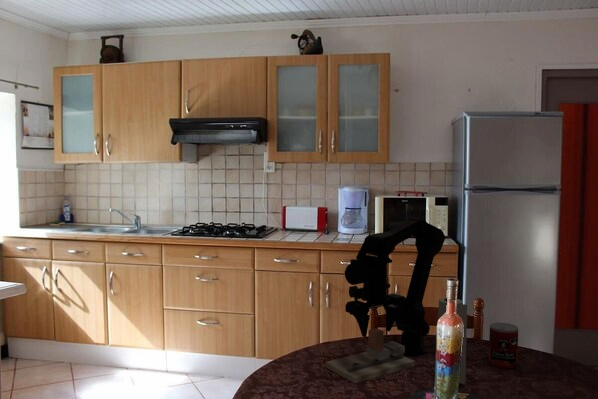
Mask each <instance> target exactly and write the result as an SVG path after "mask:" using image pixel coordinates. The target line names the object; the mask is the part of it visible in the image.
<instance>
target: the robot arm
mask: <svg viewBox="0 0 598 399" xmlns="http://www.w3.org/2000/svg"><path fill="white" fill-rule="evenodd" d="M412 237H413V238H414V239H415V243H414V245H415V248H416V252H417V255H416V259H415V262H414V266H413V270H412V274H411V277H410V281H409V285H408V289H407V292H406V297H405V295H401V294H398V293H388V289H390V288H391V284H390V283H388V264H392V263H393V259H392V258H390V257H389V256H390V255H391V254H392V253H393V252H394V251H395V249H396V246H397V245H399V244H401V243H403V242H405V241H406V240H408V239H410V238H412ZM445 239H446V236H445V233H444V231H443V230H442V229H441V228H438V227H437V226H435V225H433V224H431V223H429V222H427V221H426V219H424V218H416V217H411V218H408V219H407V220H406V221H405V222H402V223H400V224H398V225H397V226H395V227H392V228H391V229H389V230H387V231H385V232H377V233H371V234H368V235H367V236H366V237H365V238H364V241H363V243H362V245H361V247H360V249H359V251H358V253H357V255H356V258H353V259H350V260H349V261H350V262H349V263H350V264H348V265H347V266H346V267H345V270H344V277H345V281H346V282H347V283H348V284H349V285H351V286H349V287H348V295H349V298H350V299H352V298H353V299H354V300H350V301H347V302H346V304H345V309H344V311H345V312H346V313H347V314H349V315H351V316H353V317H354V318H355V320H356V322H357V325H358V327H359V331H360V334H361V337H363V338H367V333H368V331H369V325H370V324H369V323H370V319H371V318H370V317H371V315H370V314H369V313H370V310H371V309H375V308H380V307H383V309H384V312H385V329H386V330H385V331H386V332H391V330H392V328H393V326H394V324H395V326H396V329H397V331H401V338H400V344H401V345H403V346H405V354H406V355H409V356H411V357H416V356H419V355H422V354H426V353H428V350H426V349H424V338H425V337H426V336H427V335H428V334H429V333H430V329H431V326H430V325H429V324H428V322H427V320H426V319H425V314H426V312H425V308H424V304H423V301H424V300H423V299H424V296H425V292H426V289H427V285H428V281H429V276H430V273H431V269H432V266H433V263H434V262H433V261H434V258H435V257H436V256H437V255H438V254H439V253H440V252H441V251H442V249H443V245H444V242H446V240H445ZM360 284H361V285H362V287H358V285H360Z"/></svg>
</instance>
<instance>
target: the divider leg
mask: <svg viewBox="0 0 598 399" xmlns="http://www.w3.org/2000/svg"><path fill="white" fill-rule="evenodd" d="M384 332H385V331H384V330H383V329H380V328H377V327H376V328H372V329H368V346H367V347H366V352H367V355H368V356H370V357H372V358H374V360H383V359H386V358H389V356H390V350H388V349H386V348H384V347H383V343H384V341H385V340H384V339H385V338H384V337H385V336H384Z"/></svg>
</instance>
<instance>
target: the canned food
mask: <svg viewBox="0 0 598 399" xmlns="http://www.w3.org/2000/svg"><path fill="white" fill-rule="evenodd" d="M488 341H489V342H488V343H489V344H488V346H489V347H488V348H489V349H488V360H489V363H490V364H491V365H492V366H494V367H495V368H499V369H514V368H516V367H517V365H518V349H519V348H518V347H519V328H518V326H517V325H515V324H511V323H507V322H492V323H490V324H489V340H488Z"/></svg>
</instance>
